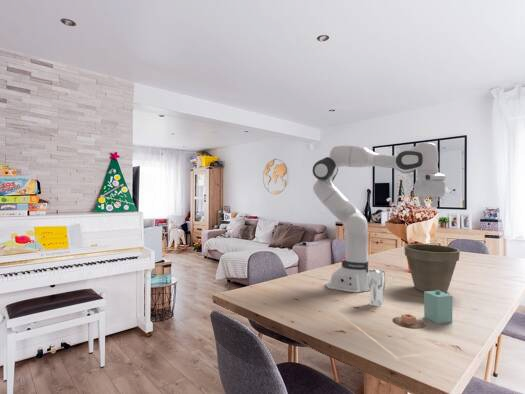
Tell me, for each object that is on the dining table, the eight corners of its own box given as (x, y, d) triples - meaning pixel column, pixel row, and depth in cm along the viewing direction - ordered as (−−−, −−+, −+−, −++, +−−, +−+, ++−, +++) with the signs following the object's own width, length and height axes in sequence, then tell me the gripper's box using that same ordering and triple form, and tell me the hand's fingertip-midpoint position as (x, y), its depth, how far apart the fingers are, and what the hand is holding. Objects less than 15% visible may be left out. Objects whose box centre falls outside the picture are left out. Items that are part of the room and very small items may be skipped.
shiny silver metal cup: (381, 302, 137) (381, 269, 137) (388, 307, 130) (387, 272, 130) (365, 302, 137) (365, 269, 137) (371, 308, 130) (371, 272, 130)
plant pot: (469, 299, 141) (469, 252, 141) (412, 295, 146) (411, 250, 146) (448, 284, 166) (447, 244, 166) (399, 281, 171) (399, 243, 171)
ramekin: (407, 324, 111) (407, 318, 111) (401, 321, 115) (401, 314, 115) (415, 323, 112) (415, 317, 112) (409, 320, 116) (409, 313, 116)
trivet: (393, 327, 110) (393, 325, 110) (391, 316, 121) (391, 315, 121) (427, 332, 106) (427, 330, 106) (423, 320, 117) (423, 318, 117)
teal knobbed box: (437, 324, 112) (437, 293, 112) (424, 317, 119) (424, 288, 119) (452, 322, 114) (452, 292, 114) (438, 315, 120) (438, 287, 120)
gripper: (410, 178, 153) (410, 206, 153) (433, 175, 132) (433, 207, 132) (422, 178, 153) (422, 206, 153) (447, 175, 132) (448, 207, 132)
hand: (428, 206), depth 142 cm, fingers open, 8 cm apart
